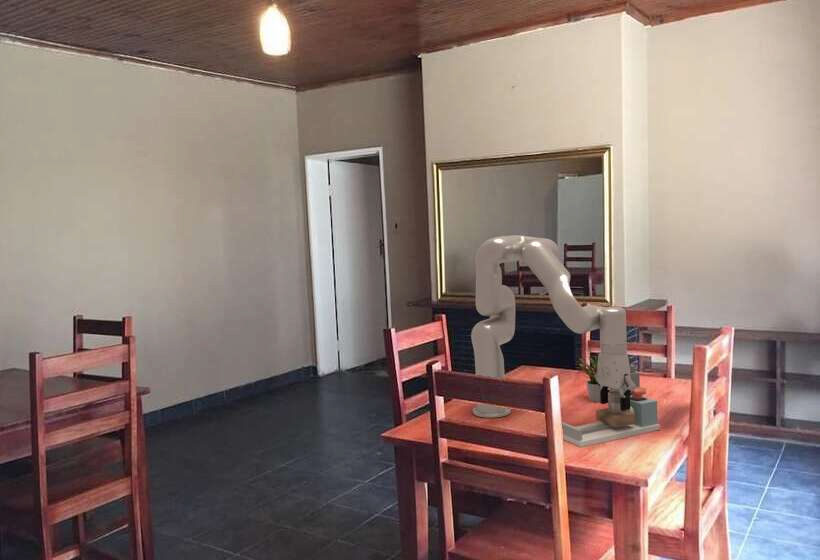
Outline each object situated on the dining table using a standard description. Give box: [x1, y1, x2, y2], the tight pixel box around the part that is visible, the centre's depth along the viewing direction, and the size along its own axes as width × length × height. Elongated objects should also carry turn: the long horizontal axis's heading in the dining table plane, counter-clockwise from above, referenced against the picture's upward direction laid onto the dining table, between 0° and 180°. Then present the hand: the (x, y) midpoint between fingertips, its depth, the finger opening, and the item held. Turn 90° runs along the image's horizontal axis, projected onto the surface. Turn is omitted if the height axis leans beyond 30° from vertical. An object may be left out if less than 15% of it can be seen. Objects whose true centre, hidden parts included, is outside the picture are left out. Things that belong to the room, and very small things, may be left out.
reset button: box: [632, 386, 647, 400], centre depth 206 cm, size 5×5×3 cm
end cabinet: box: [626, 396, 659, 427], centre depth 206 cm, size 10×6×7 cm, turn 24°
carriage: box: [595, 391, 635, 428], centre depth 203 cm, size 9×7×9 cm
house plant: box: [578, 354, 600, 403], centre depth 237 cm, size 14×14×16 cm
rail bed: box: [562, 421, 661, 448], centre depth 202 cm, size 12×29×4 cm, turn 114°
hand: (615, 406), depth 203 cm, fingers open, 8 cm apart
